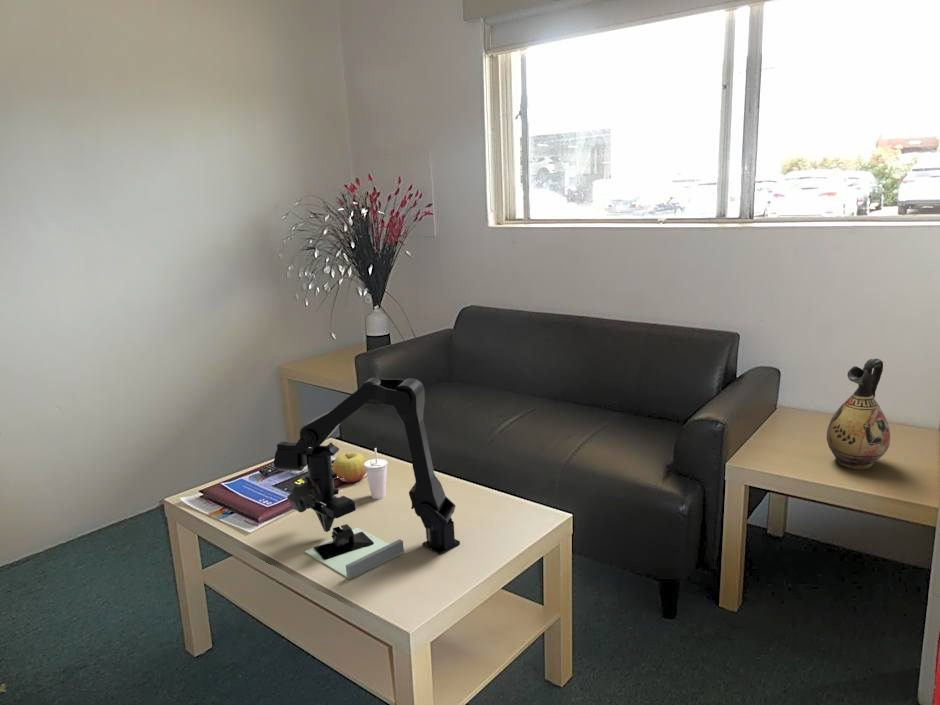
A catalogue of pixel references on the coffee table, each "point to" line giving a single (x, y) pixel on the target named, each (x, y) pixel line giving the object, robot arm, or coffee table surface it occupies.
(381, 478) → the smoothie
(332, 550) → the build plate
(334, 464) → the apple
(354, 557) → the base plate
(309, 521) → the coffee table surface
